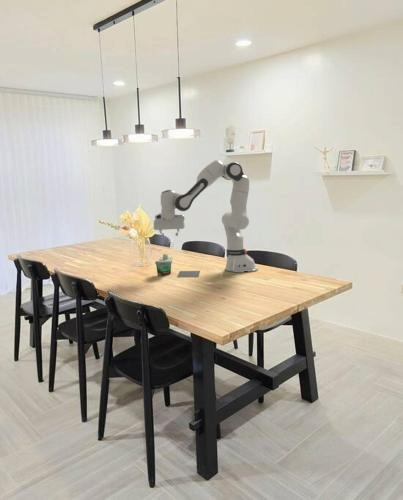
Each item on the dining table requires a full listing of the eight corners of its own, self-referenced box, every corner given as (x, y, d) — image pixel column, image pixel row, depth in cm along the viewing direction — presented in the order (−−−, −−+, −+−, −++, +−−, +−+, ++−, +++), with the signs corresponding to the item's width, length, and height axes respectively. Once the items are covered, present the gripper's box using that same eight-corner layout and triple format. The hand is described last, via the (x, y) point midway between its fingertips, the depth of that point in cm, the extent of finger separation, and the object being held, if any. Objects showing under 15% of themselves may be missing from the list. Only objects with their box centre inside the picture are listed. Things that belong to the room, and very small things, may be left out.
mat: (200, 271, 269) (200, 270, 269) (198, 277, 252) (198, 277, 252) (179, 271, 270) (179, 271, 270) (176, 278, 253) (176, 277, 253)
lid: (172, 258, 266) (172, 252, 265) (170, 262, 253) (170, 256, 252) (160, 258, 266) (160, 252, 266) (158, 262, 254) (157, 256, 253)
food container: (161, 277, 255) (160, 262, 254) (155, 276, 260) (155, 261, 258) (176, 274, 263) (175, 259, 261) (171, 272, 268) (170, 258, 266)
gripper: (184, 213, 261) (185, 234, 264) (153, 215, 262) (155, 235, 265) (183, 215, 255) (185, 236, 258) (152, 216, 256) (153, 237, 259)
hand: (169, 236), depth 261 cm, fingers open, 8 cm apart
